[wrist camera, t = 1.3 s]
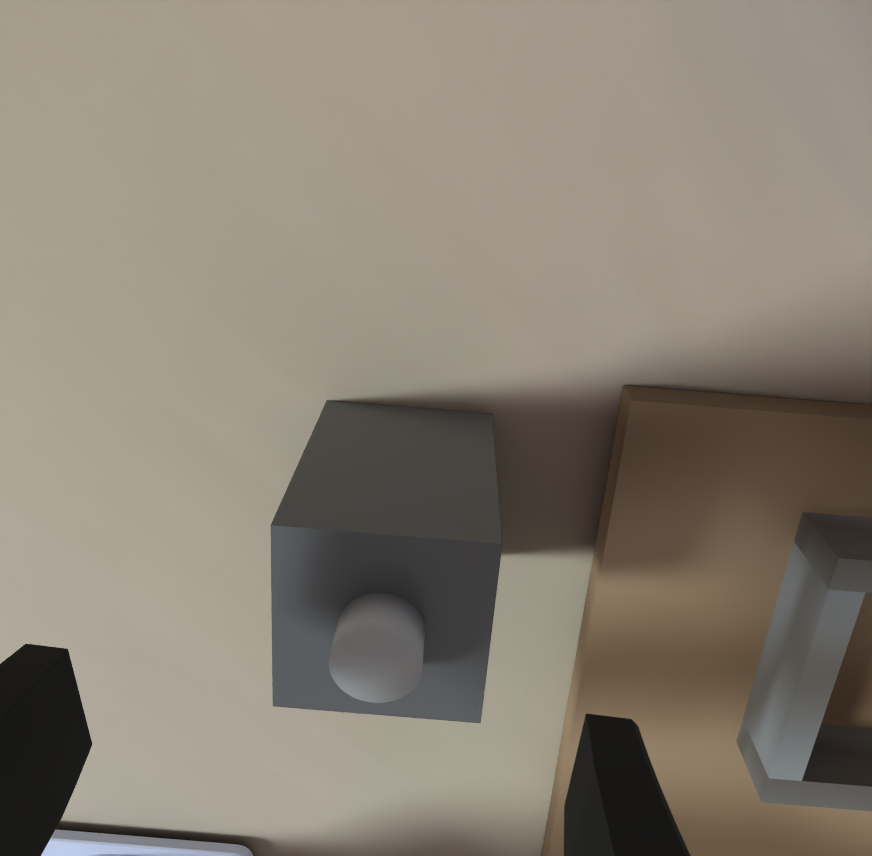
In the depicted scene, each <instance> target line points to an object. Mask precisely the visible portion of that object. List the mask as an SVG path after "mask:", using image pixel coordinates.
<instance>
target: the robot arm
mask: <svg viewBox="0 0 872 856" xmlns="http://www.w3.org/2000/svg"><path fill="white" fill-rule="evenodd" d="M91 746H92V741H91V737H90V734H89V730H88V726H87V722H86V718H85V714H84V710H83V706H82V702H81V699H80V695H79V691H78V687H77V683H76V679H75V675H74V671H73V668H72V664H71V660H70V656H69V652H68V649H64V648H56V647H48V646H40V645H32V644H25V645H24V646H23V647H21V648H20V649H19V650H17V651H16V652H15V653H14V654H12V655H11V656H10V657H9V658H7V659H6V660H5V661H3V662H2V663H1V664H0V856H253V854H252V852H251V851H250V850H249V849H248V848H247V847H245V846H243V845H238V844H227V843H215V842H202V841H190V840H178V839H166V838H154V837H141V836H129V835H117V834H105V833H93V832H80V831H68V830H56V827H57V826H58V824H59V822H60V820H61V818H62V816H63V814H64V811H65V809H66V807H67V804H68V802H69V800H70V797H71V795H72V793H73V791H74V788H75V786H76V784H77V781H78V779H79V776H80V774H81V771H82V769H83V766H84V764H85V761H86V759H87V756H88V754H89V751H90V749H91ZM564 856H691V855H690V853H689V851H688V849H687V847H686V845H685V842H684V840H683V838H682V836H681V833H680V831H679V829H678V827H677V824H676V822H675V820H674V817H673V815H672V813H671V810H670V808H669V806H668V803H667V801H666V799H665V796H664V794H663V791H662V789H661V787H660V784H659V782H658V779H657V777H656V774H655V771H654V769H653V766H652V764H651V761H650V758H649V756H648V753H647V750H646V747H645V745H644V742H643V739H642V736H641V733H640V730H639V727H638V725H637V724H636V723H635V722H634V721H633V720H632V719H627V718H619V717H611V716H603V715H595V714H587V713H586V715H585V719H584V724H583V728H582V732H581V736H580V741H579V745H578V749H577V754H576V758H575V762H574V766H573V771H572V775H571V779H570V784H569V788H568V792H567V796H566V801H565V805H564Z"/></svg>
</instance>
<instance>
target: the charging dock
mask: <svg viewBox="0 0 872 856" xmlns="http://www.w3.org/2000/svg"><path fill="white" fill-rule="evenodd" d="M586 713H587V714H595V715H603V716H611V717H619V718H627V719H632V720H633V721H634V722H635V723H636V724H637V725H638V727H639V730H640V733H641V736H642V739H643V742H644V745H645V747H646V750H647V753H648V756H649V758H650V761H651V764H652V766H653V769H654V771H655V774H656V777H657V779H658V782H659V784H660V787H661V789H662V791H663V794H664V796H665V799H666V801H667V803H668V806H669V808H670V810H671V813H672V815H673V817H674V820H675V822H676V824H677V827H678V829H679V831H680V833H681V836H682V838H683V840H684V842H685V845H686V847H687V849H688V851H689V853H690V855H691V856H872V405H865V404H853V403H840V402H828V401H815V400H802V399H790V398H777V397H765V396H752V395H739V394H727V393H714V392H701V391H689V390H676V389H664V388H651V387H638V386H626V385H623V390H622V396H621V401H620V407H619V413H618V419H617V424H616V430H615V436H614V441H613V447H612V453H611V459H610V464H609V470H608V476H607V482H606V487H605V493H604V499H603V504H602V510H601V516H600V522H599V527H598V533H597V539H596V545H595V550H594V556H593V562H592V567H591V573H590V579H589V585H588V590H587V596H586V602H585V608H584V613H583V619H582V625H581V630H580V636H579V642H578V648H577V653H576V659H575V665H574V671H573V676H572V682H571V688H570V694H569V699H568V705H567V711H566V716H565V722H564V728H563V734H562V739H561V745H560V751H559V757H558V762H557V768H556V774H555V779H554V785H553V791H552V797H551V802H550V808H549V814H548V820H547V825H546V831H545V837H544V842H543V848H542V854H541V856H564V805H565V801H566V796H567V792H568V788H569V784H570V779H571V775H572V771H573V766H574V762H575V758H576V754H577V749H578V745H579V741H580V736H581V732H582V728H583V724H584V719H585V715H586Z"/></svg>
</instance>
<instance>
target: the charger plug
mask: <svg viewBox="0 0 872 856" xmlns="http://www.w3.org/2000/svg"><path fill="white" fill-rule="evenodd" d="M501 550H502V535H501V522H500V509H499V496H498V484H497V471H496V458H495V445H494V432H493V420H492V414H490V413H478V412H465V411H453V410H440V409H427V408H415V407H402V406H390V405H377V404H365V403H352V402H339V401H326V403H325V406H324V408H323V410H322V412H321V415H320V417H319V419H318V421H317V423H316V426H315V428H314V430H313V432H312V435H311V437H310V439H309V441H308V444H307V446H306V448H305V450H304V452H303V455H302V457H301V459H300V461H299V464H298V466H297V468H296V470H295V472H294V475H293V477H292V479H291V481H290V484H289V486H288V488H287V490H286V492H285V495H284V497H283V499H282V501H281V504H280V506H279V508H278V510H277V512H276V515H275V517H274V519H273V521H272V524H271V591H272V675H273V706H276V707H288V708H301V709H313V710H325V711H337V712H350V713H362V714H374V715H387V716H399V717H411V718H423V719H436V720H448V721H460V722H473V723H481V715H482V707H483V699H484V690H485V682H486V674H487V665H488V657H489V649H490V641H491V632H492V624H493V616H494V608H495V599H496V591H497V583H498V574H499V566H500V558H501Z"/></svg>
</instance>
